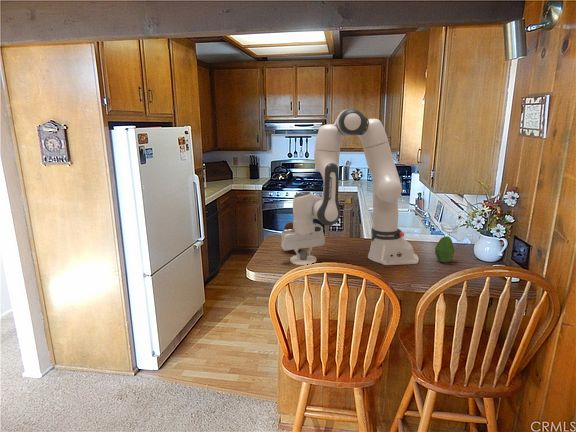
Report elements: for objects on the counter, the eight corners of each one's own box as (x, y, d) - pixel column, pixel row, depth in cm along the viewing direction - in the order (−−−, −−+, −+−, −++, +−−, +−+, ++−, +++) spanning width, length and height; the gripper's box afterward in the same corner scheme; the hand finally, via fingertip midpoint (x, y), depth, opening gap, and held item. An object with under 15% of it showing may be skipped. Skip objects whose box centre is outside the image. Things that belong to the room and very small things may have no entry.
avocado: (453, 260, 167) (455, 234, 164) (453, 266, 160) (455, 239, 157) (434, 257, 171) (436, 233, 168) (433, 263, 164) (435, 238, 161)
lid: (317, 256, 175) (317, 248, 174) (315, 265, 164) (315, 257, 163) (292, 255, 177) (291, 247, 176) (288, 265, 165) (288, 256, 164)
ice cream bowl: (302, 255, 177) (302, 225, 173) (280, 254, 179) (279, 224, 175) (306, 248, 187) (305, 219, 183) (284, 247, 189) (283, 219, 186)
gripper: (283, 232, 160) (284, 262, 164) (326, 227, 167) (326, 255, 170) (278, 228, 166) (279, 257, 169) (320, 223, 172) (320, 251, 176)
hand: (303, 256), depth 170 cm, fingers closed on lid, 3 cm apart
